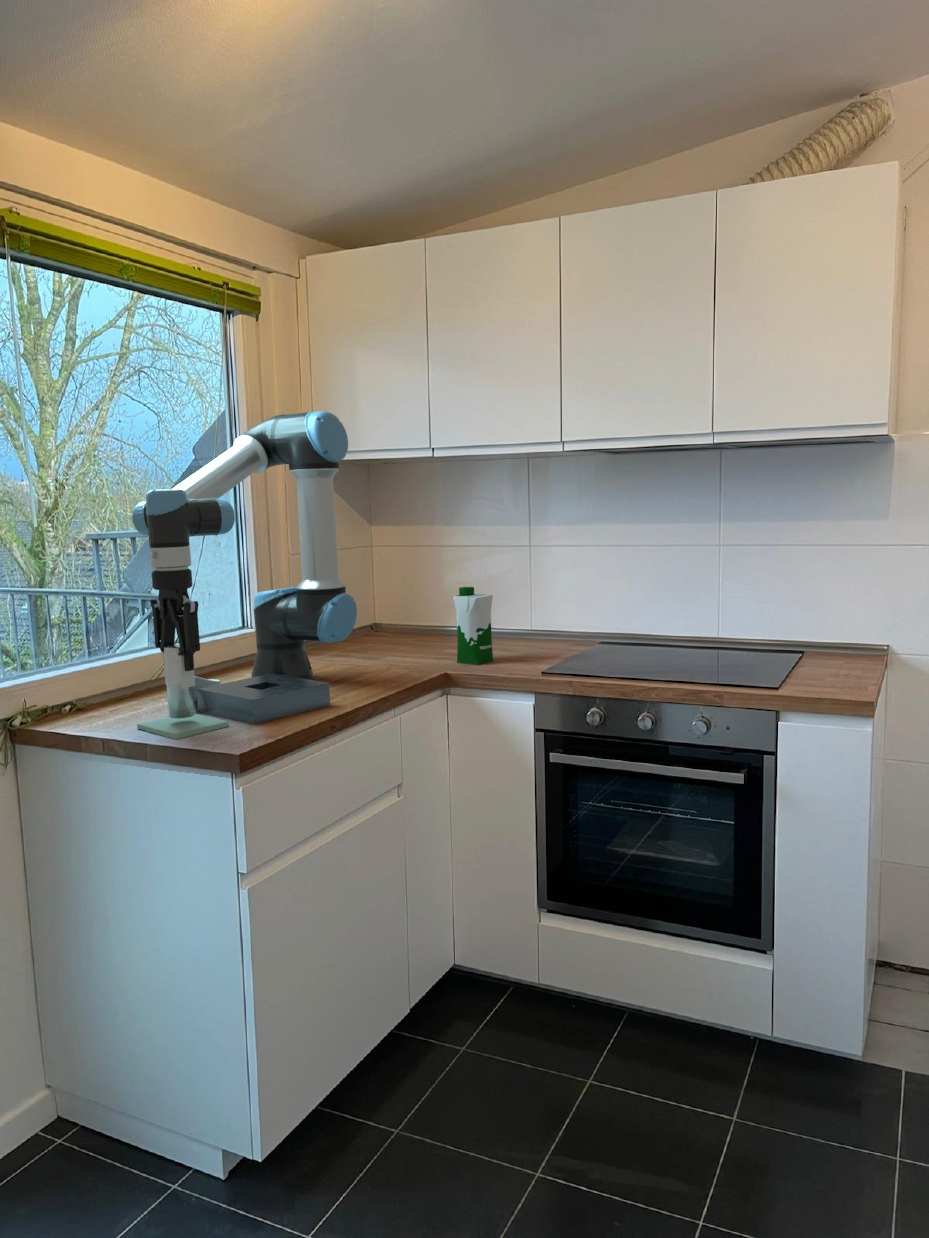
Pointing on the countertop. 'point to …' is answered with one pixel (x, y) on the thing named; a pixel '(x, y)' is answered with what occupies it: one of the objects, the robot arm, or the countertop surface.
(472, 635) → the milk carton
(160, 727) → the mat
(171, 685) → the grey tall block
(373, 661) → the countertop surface
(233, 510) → the robot arm
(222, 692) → the housing
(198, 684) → the white curved piece
